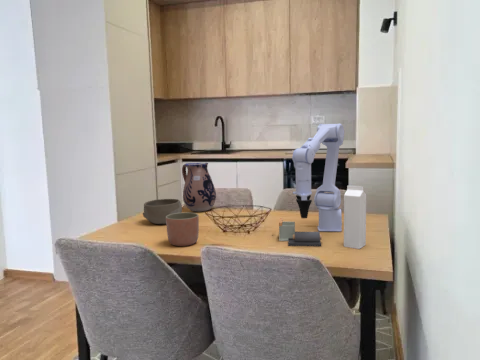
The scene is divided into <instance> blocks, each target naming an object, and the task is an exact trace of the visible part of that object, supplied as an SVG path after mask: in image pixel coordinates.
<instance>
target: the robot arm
mask: <svg viewBox="0 0 480 360" xmlns="http://www.w3.org/2000/svg"><path fill="white" fill-rule="evenodd" d="M344 137H345V127H344V125H343V124H342V123H319V124H318V126H317V127H316V133H315V135H313V137H308V138H307V140H306V141H305V142H303V144H302V145H301V146H300V147H297V148H296V149H294V150H293V152H292V156H291V159H292V162H293V167H294V169H295V191H292V194H293V195H295V198H296V199H295V201H296V203H297V205H298V208H299V209H298V210H299V214H300V217H301V219H307V218H308V216H309V211H310V210H309V209H310V206H311V204H312V202H314V205H315V206H316V208H317V209H318V225H317V226H316V227H317V232H342V226H343V216H342V214H343V213H342V209H341V208H340V206H341V204H342V203H341V202H342V197H341V195H342V193H341V190H340V189H339V188H338V186H336V177H337V169H338V162H339V153H340V147H341V146H342V145H343V144H344ZM321 145H324V146H326V155H325V162H324V163H325V165H324V171H323V180H322V184H321V185H320V186H319V187H317V188H316V192H315V194H314V196H313V201H312V199H311V195H312V194H313V193H312V163H314V160H315V157H316V153H317V152H318V151H319V150H321V149H320V148H321Z"/></svg>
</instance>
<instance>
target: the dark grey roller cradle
mask: <svg viewBox="0 0 480 360" xmlns="http://www.w3.org/2000/svg"><path fill="white" fill-rule="evenodd" d="M287 246H288V247H322V240H320V243H301V242H295V239H293V238H288V241H287Z"/></svg>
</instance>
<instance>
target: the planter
mask: <svg viewBox="0 0 480 360" xmlns="http://www.w3.org/2000/svg"><path fill="white" fill-rule="evenodd" d="M199 219H200V218H199V214H198V213H197V212H188V211H186V212H185V211H182V212H181V213H174V214H169V215H167V216H166V224H165V225H166V234H167V239H168V242H169V244H170V245H172V246H176V247H187V246H191V245H194V244H195V243H196V242H198V238H199V232H200V231H199V229H200V228H199V224H200V223H199V222H200V221H199Z"/></svg>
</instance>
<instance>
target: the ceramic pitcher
mask: <svg viewBox="0 0 480 360" xmlns="http://www.w3.org/2000/svg"><path fill="white" fill-rule="evenodd" d="M208 166H209V163H208V162H186V163H184V164H183V165H182V168H181V173H182V176H183V177H182V178H183V180H184V184H183V191H182V200H183V202H184V204H185V206H186V208H187V209H189V210H190V211H192V212H194V213H199V212H206V211H210V210H211V209H212V208H213V207H214V205H215V203H216V199H217V193H216V188H215V186H214V185H215V184H214V183H213V180H212V177H211V175H210V173H209V169H208Z"/></svg>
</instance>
